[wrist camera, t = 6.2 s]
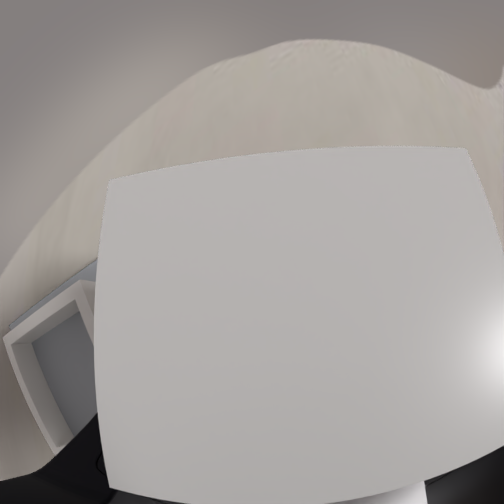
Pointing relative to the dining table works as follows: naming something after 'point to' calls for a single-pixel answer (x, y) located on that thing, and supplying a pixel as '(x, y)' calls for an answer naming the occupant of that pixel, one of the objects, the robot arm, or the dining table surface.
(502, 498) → the robot arm
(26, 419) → the dining table surface
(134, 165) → the dining table surface
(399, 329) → the plug
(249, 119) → the dining table surface
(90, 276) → the socket plate
